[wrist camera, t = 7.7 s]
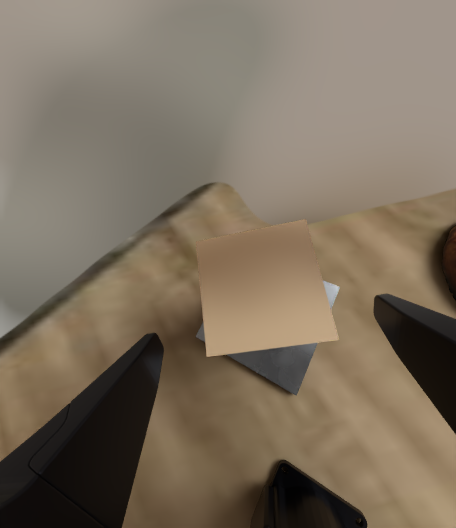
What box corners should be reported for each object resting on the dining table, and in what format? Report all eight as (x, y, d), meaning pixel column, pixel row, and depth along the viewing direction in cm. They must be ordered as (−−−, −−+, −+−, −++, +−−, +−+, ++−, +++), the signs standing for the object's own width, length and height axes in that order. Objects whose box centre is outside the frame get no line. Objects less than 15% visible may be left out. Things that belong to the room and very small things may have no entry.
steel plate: (337, 288, 21) (339, 287, 20) (295, 393, 19) (296, 395, 18) (242, 249, 23) (241, 246, 23) (198, 336, 22) (195, 336, 21)
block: (322, 333, 19) (421, 340, 7) (222, 347, 20) (145, 373, 8) (308, 278, 21) (367, 199, 8) (215, 294, 22) (143, 245, 9)
